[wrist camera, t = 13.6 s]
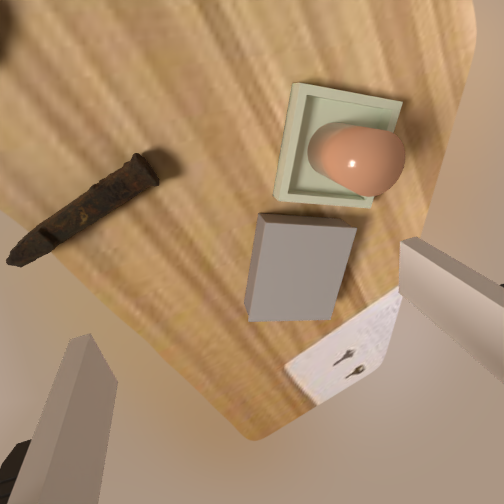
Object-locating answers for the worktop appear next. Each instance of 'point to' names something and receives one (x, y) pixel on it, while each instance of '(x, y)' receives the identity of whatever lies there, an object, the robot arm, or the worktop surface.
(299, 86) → the tray
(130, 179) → the hand tool
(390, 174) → the terracotta domed cylinder
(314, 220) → the grey square plinth
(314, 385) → the worktop surface
